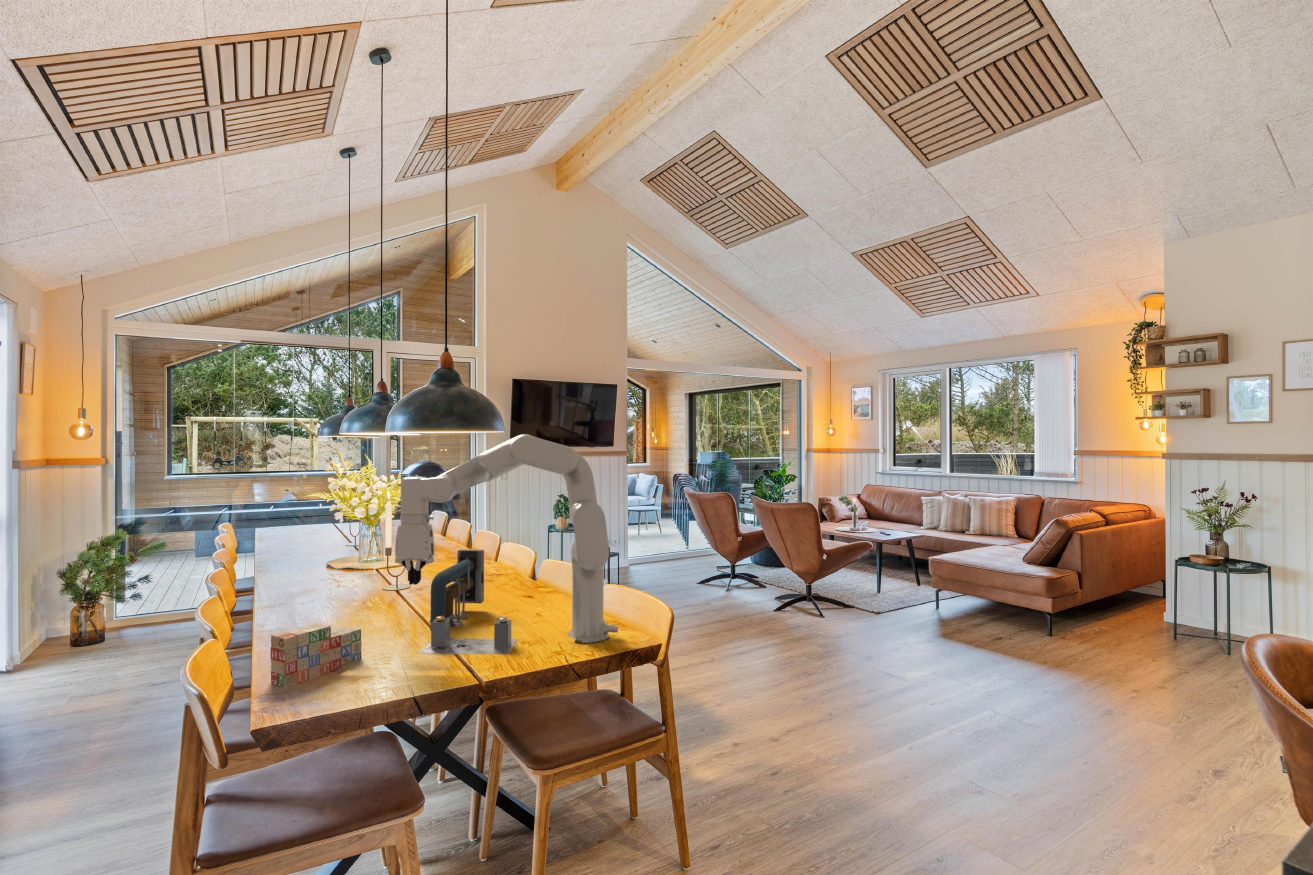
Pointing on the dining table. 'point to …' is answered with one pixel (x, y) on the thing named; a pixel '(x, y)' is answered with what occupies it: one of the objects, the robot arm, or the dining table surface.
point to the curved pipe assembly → (458, 586)
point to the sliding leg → (440, 632)
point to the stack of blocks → (312, 652)
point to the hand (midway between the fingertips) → (414, 583)
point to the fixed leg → (502, 633)
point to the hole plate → (468, 647)
